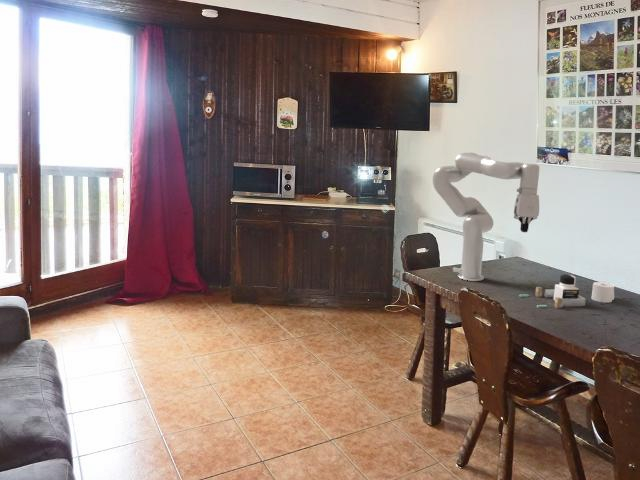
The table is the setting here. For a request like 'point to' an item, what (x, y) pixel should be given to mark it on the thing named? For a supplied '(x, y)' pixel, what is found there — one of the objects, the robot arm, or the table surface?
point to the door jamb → (557, 299)
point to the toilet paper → (602, 292)
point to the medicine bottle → (566, 287)
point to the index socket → (566, 299)
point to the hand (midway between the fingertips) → (524, 231)
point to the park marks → (537, 305)
